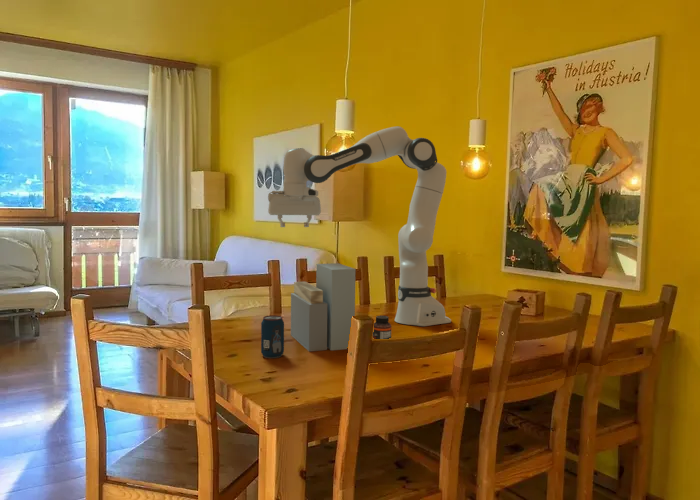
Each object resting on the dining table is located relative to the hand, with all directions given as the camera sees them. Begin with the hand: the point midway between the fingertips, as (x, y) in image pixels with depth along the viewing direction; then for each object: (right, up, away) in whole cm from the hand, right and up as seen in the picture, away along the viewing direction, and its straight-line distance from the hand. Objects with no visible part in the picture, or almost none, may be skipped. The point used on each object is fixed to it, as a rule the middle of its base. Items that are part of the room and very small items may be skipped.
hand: (294, 227), depth 215 cm
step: (+7, -40, -28) cm, 49 cm away
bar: (+7, -25, -28) cm, 39 cm away
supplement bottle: (+31, -42, -37) cm, 64 cm away
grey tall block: (+16, -40, -28) cm, 52 cm away
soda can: (-2, -42, -44) cm, 61 cm away
